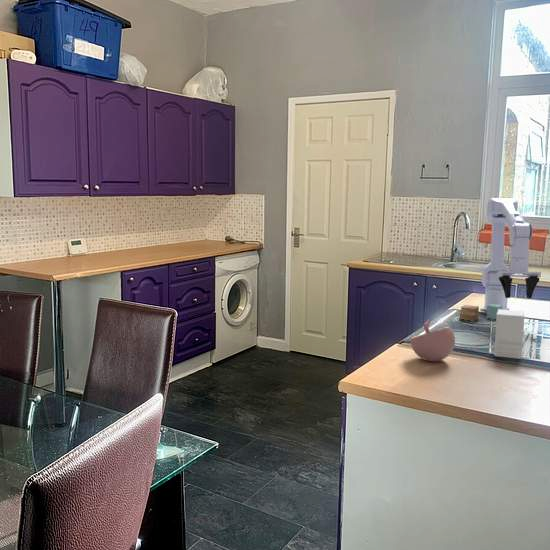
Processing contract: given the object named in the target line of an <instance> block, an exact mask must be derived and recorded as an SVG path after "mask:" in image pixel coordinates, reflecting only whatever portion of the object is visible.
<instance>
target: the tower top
mask: <svg viewBox="0 0 550 550" xmlns="http://www.w3.org/2000/svg"><path fill="white" fill-rule="evenodd" d="M479 310H480V306H479V305H471V304H464V305H462V306H461V307H460V313H461V314H467V315H476V314H478V313H479V314H480V312H479Z"/></svg>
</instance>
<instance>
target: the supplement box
mask: <svg viewBox="0 0 550 550" xmlns="http://www.w3.org/2000/svg"><path fill="white" fill-rule="evenodd" d="M524 326H525V311H524V310H511V309H508V310H501V309H498V312H497V314H496V320H495V337H494V340H495V341H494V357H500V358H509V359H517V360H522V355H523V342H524Z"/></svg>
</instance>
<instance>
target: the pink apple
mask: <svg viewBox="0 0 550 550" xmlns="http://www.w3.org/2000/svg"><path fill="white" fill-rule="evenodd" d="M425 321H426V322H424V323H423V329H424V332H425V333H424V334H420V335H413V336H412V337H410V338H409V339H410V340H409V341H410V346H411V348H412V350H413V352H414V353H415V354H416V355H417V357H419V358H420V359H423V360H425V361H427V362H440V361H442V360H445V359H446V358H447V357H449V356H450V355H451V353H452V352H453V350H454V348H455V343H456V336H455V333H454V331H453V328H452V327H451V326H450V325H448V326H445V327H442V328H439V329H437V330H433V331H431V330H430V328H429V326H430V324H431V320H430V319H427V320H425Z"/></svg>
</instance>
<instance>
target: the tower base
mask: <svg viewBox="0 0 550 550" xmlns="http://www.w3.org/2000/svg"><path fill="white" fill-rule="evenodd" d="M479 316H480V312H479V313H478V314H476V315H467V314H461V312H459V320H461V319H465V320H464V321H467V320H470V321H469V322H474V320H475V321H477V320H476V319H478V320H479Z"/></svg>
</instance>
